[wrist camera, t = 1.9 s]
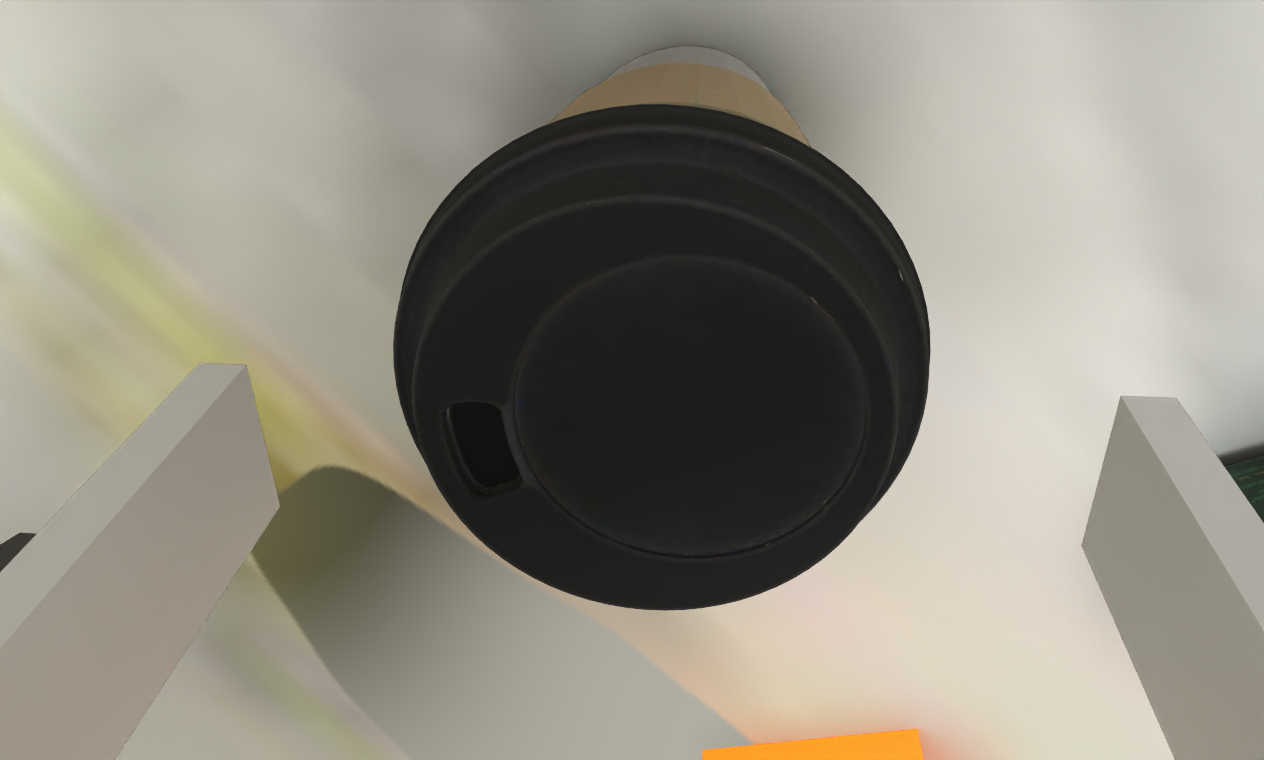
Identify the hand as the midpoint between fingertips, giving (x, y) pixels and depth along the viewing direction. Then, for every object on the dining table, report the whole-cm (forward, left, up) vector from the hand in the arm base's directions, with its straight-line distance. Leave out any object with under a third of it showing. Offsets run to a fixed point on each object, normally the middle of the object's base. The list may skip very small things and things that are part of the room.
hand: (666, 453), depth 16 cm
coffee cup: (0, 0, -16) cm, 16 cm away
